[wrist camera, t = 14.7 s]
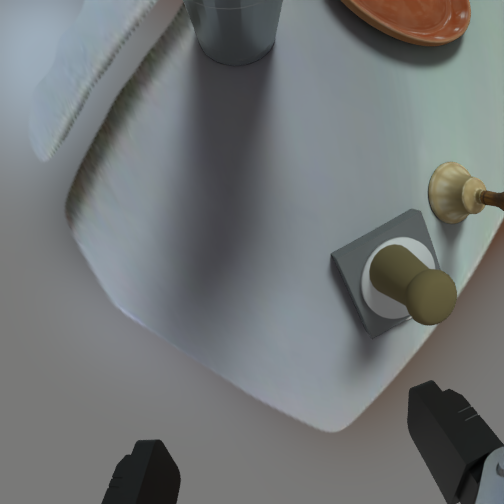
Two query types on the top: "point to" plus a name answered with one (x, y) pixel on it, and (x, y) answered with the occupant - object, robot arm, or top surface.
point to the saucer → (415, 19)
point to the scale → (359, 260)
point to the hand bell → (459, 194)
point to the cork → (413, 284)
